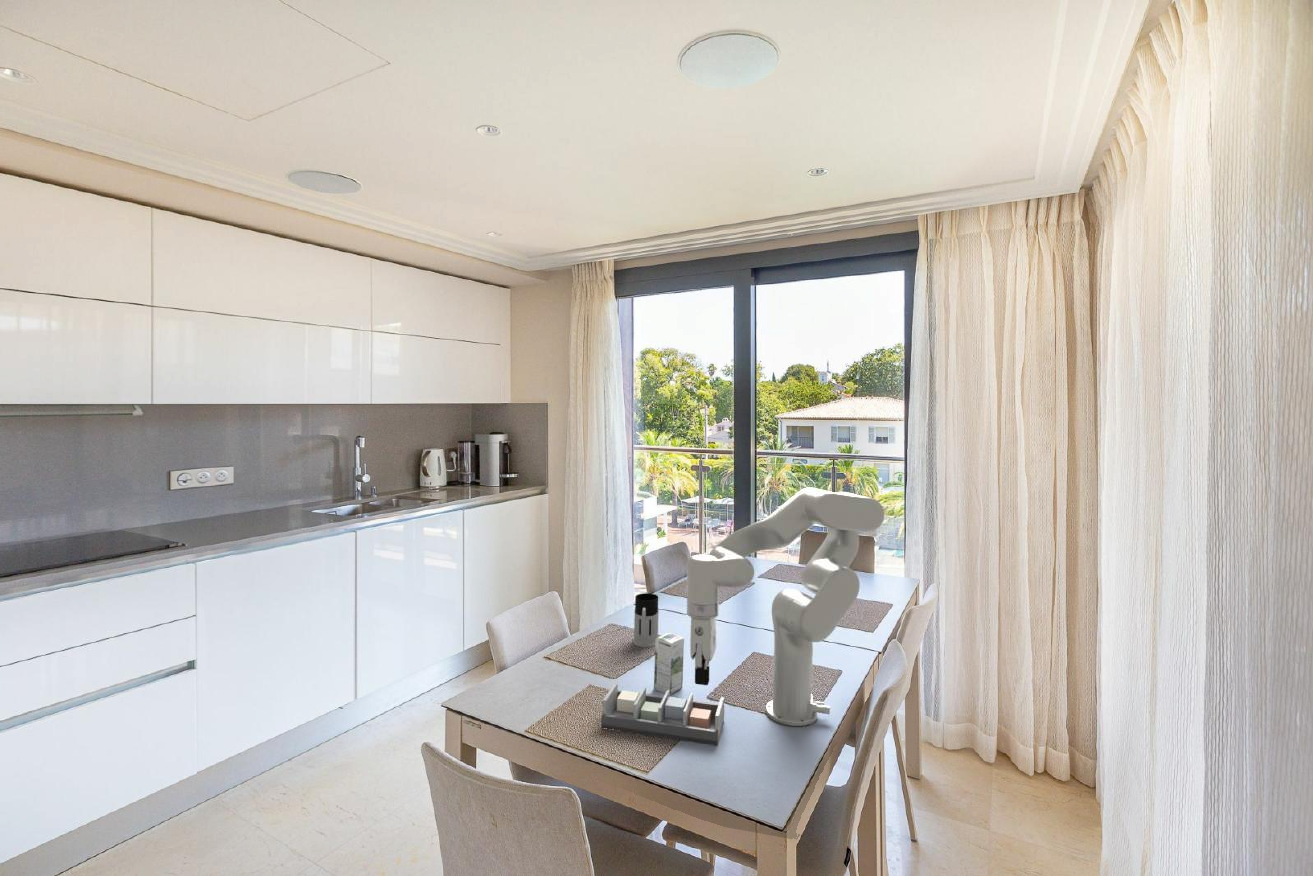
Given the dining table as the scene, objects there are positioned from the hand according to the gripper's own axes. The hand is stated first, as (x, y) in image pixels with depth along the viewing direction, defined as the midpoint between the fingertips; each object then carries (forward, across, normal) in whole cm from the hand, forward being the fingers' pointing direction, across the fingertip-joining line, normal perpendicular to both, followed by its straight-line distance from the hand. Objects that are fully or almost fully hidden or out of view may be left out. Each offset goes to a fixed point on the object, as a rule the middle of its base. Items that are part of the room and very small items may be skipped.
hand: (702, 683), depth 148 cm
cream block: (+8, 0, +18) cm, 20 cm away
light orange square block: (+10, 0, 0) cm, 10 cm away
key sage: (+10, 0, +12) cm, 16 cm away
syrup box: (+12, +19, +12) cm, 25 cm away
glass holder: (+12, +47, +26) cm, 55 cm away
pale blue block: (+8, 0, +6) cm, 10 cm away
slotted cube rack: (+12, 0, +9) cm, 15 cm away
